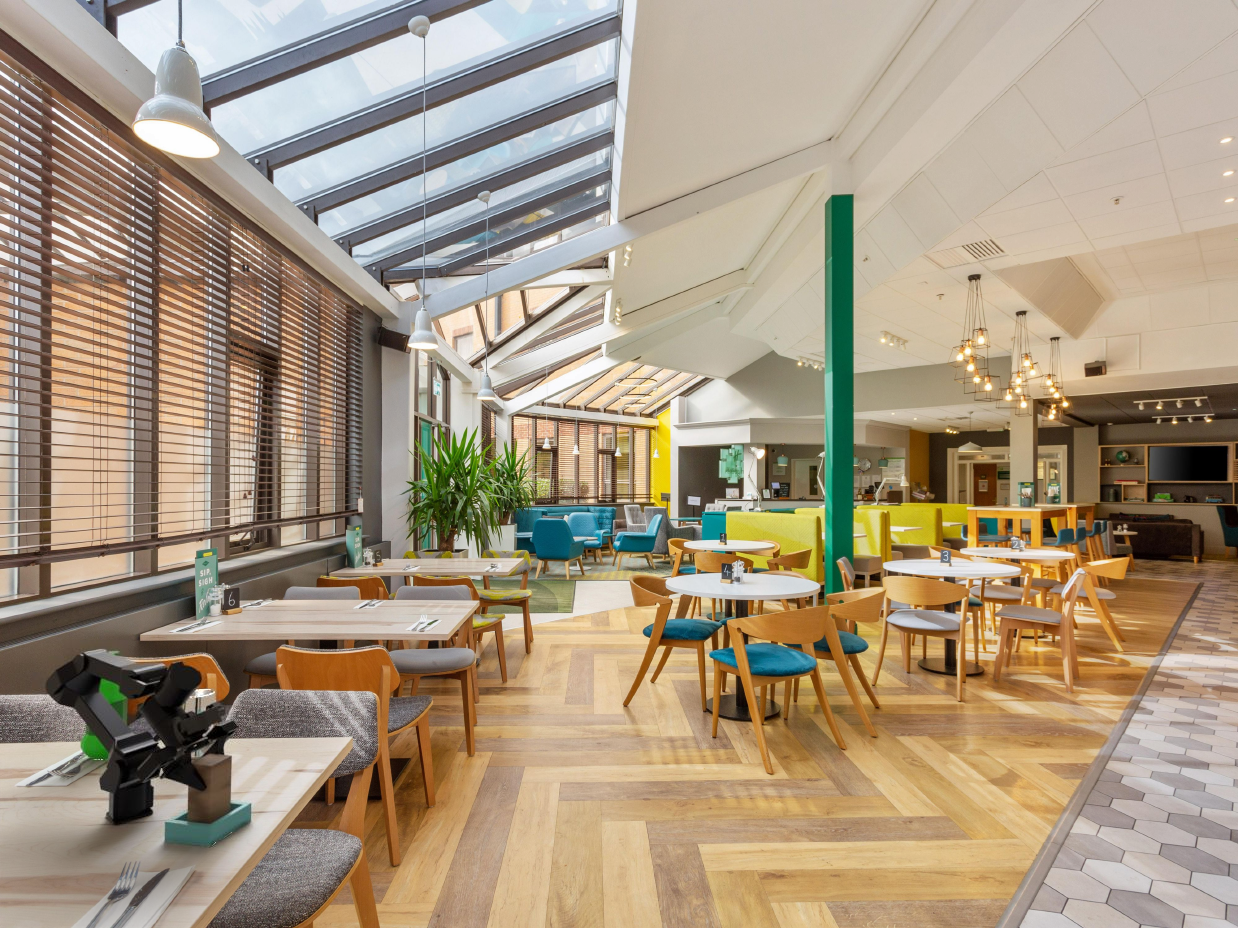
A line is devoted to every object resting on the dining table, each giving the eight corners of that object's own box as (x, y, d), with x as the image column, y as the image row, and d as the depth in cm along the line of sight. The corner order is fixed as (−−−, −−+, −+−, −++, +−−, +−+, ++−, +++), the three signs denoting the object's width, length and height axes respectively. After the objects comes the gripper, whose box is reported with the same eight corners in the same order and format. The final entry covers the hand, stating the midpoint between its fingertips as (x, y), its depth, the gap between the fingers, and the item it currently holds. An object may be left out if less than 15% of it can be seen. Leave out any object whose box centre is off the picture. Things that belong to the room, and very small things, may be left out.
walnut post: (187, 822, 127) (188, 763, 128) (208, 810, 132) (210, 753, 132) (209, 825, 126) (211, 765, 127) (230, 812, 131) (231, 755, 131)
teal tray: (164, 840, 125) (164, 821, 125) (207, 815, 135) (208, 797, 135) (210, 846, 123) (210, 827, 123) (251, 820, 133) (251, 802, 133)
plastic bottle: (123, 745, 172) (126, 646, 173) (137, 755, 165) (139, 652, 166) (74, 757, 164) (77, 653, 165) (86, 768, 158) (89, 660, 159)
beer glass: (203, 760, 162) (204, 697, 163) (174, 760, 163) (176, 697, 163) (221, 749, 169) (222, 688, 170) (193, 748, 170) (195, 688, 170)
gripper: (152, 708, 122) (202, 776, 119) (232, 679, 140) (277, 737, 137) (114, 748, 123) (163, 816, 120) (199, 715, 141) (243, 773, 139)
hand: (216, 783), depth 129 cm, fingers closed on walnut post, 5 cm apart
